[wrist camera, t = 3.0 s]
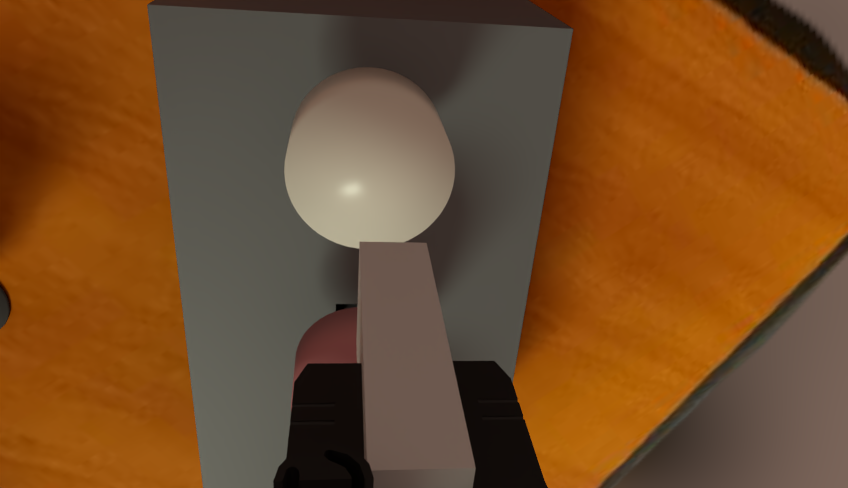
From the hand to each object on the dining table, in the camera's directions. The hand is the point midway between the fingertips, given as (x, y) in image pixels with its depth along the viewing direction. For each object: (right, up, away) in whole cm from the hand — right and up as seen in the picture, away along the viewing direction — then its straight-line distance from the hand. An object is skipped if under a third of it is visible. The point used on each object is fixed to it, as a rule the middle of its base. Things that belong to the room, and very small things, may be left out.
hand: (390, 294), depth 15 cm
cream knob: (-2, +7, +13) cm, 15 cm away
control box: (-3, +1, +23) cm, 24 cm away
